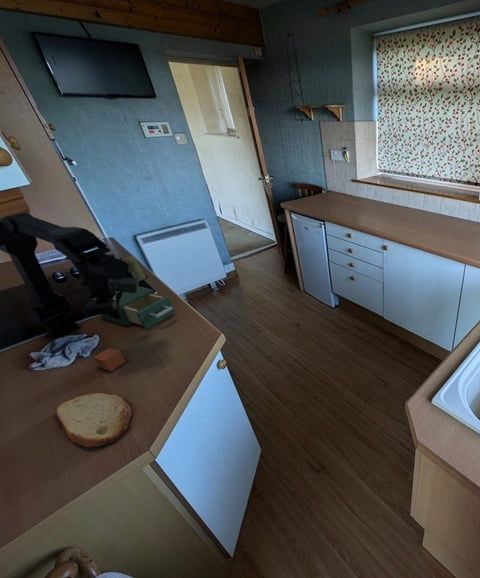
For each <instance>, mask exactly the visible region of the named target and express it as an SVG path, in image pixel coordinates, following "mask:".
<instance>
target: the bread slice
mask: <svg viewBox="0 0 480 578" xmlns="http://www.w3.org/2000/svg"><path fill="white" fill-rule="evenodd" d="M131 417H132V409H131V406H130V405H129V404H128V403H127V402H126V401H125V400H124V398H122V397H121V396H119V395H117V394H107V393H106V394H105V393H102V392H98V393H97V392H95V393H88V394H87V393H86V394H83V395H79V396H76V397H74V398H71V399H69V400H67V401H65V402H63V403H61V404H60V405H58V406H57V408H56V418H57V420H58V423H59V425H60V426H61V428H62V429H63V431H64V433H65V434H66V436H67V437H68V439H70V441H71V442H73V443H75V444H78V445H80V446H82V447H84V448H92V447H93V448H94V447H100V446H104V445H107V444H112V443H114V442H115V441H117V440H118V439H120V437H121V436H122V435H123V434H124V433H126V432H127V430H128V428H129V422H130V419H131Z"/></svg>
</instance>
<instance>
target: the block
mask: <svg viewBox="0 0 480 578" xmlns="http://www.w3.org/2000/svg"><path fill="white" fill-rule="evenodd" d="M93 358H94V360H95V362H96V363H97V364H98V366H99V368H100V369H102V370H105V371H108V372H112V371H114V370H115V369H117V368H118V367H120V366H121V365H123V364H124V363H127V362H126V359H125V357H124V356H123V354H122V353H121V351H120V350H117V349H115V348H111V347H108V348H107V349H106V350H104V351H102V352H100V353H99V354H97V355H95V356H94V357H93Z"/></svg>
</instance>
